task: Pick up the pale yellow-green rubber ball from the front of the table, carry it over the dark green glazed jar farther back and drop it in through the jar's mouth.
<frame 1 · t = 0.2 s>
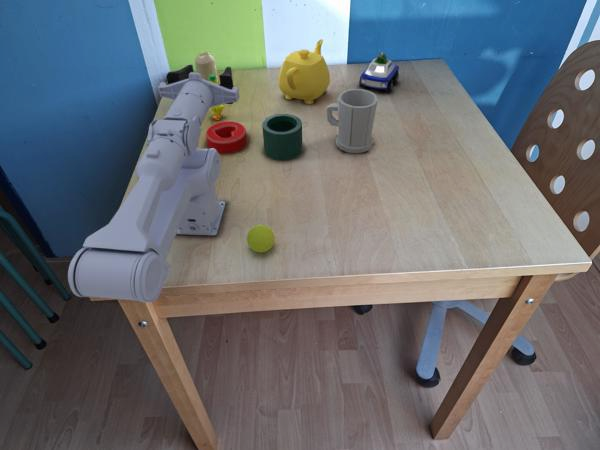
hand: (210, 70, 83), 21 cm above the table, tool horizontal, fingers open, 7 cm apart
toy figure: (217, 118, 112), on the table
jar: (283, 149, 101), on the table
teapot: (305, 94, 121), on the table
ball: (260, 238, 76), point 2 cm above the table
candle: (209, 88, 124), on the table
cup: (350, 144, 102), on the table
decorative ornament: (227, 142, 104), on the table
toy car: (378, 85, 124), on the table
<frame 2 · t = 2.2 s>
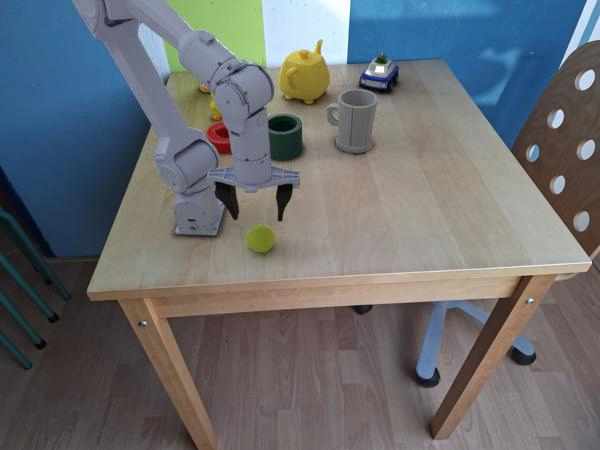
hand: (258, 216, 73), 8 cm above the table, tool pointing down, fingers open, 7 cm apart
nothing on the table moved.
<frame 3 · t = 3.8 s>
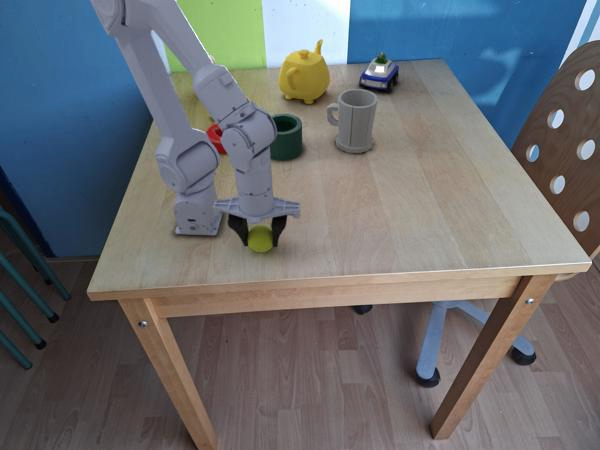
hand: (261, 242, 77), 1 cm above the table, tool pointing down, fingers closed on ball, 5 cm apart
ball: (260, 238, 76), point 2 cm above the table, touching gripper
everything else where it was.
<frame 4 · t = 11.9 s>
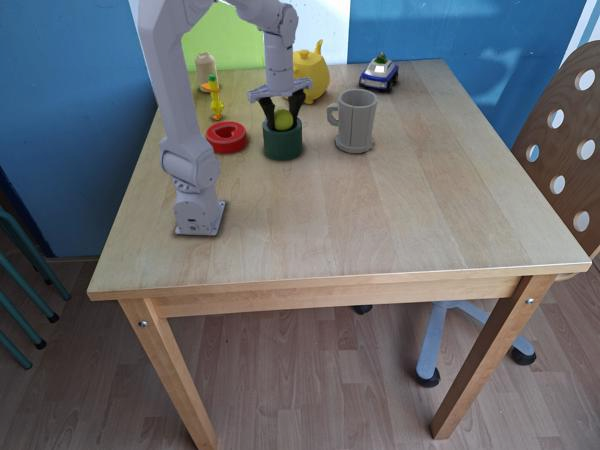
hand: (282, 124, 96), 7 cm above the table, tool pointing down, fingers closed on ball, 5 cm apart
ball: (282, 120, 95), point 8 cm above the table, touching gripper
everything else where it was.
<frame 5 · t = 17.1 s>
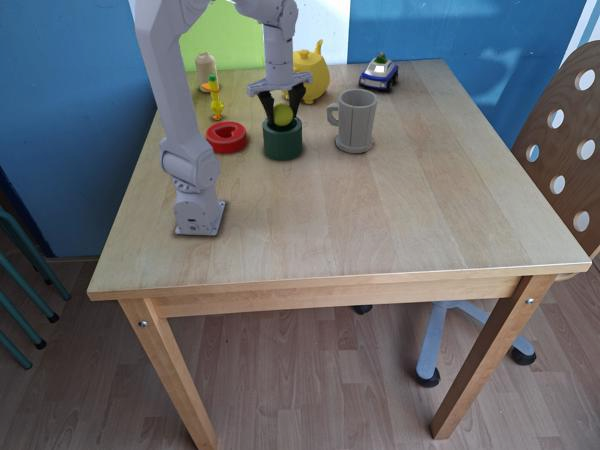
hand: (281, 118, 95), 8 cm above the table, tool pointing down, fingers closed on ball, 5 cm apart
ball: (281, 114, 94), point 9 cm above the table, touching gripper
everything else where it was.
when the fingers open (8 cm above the table, at t = 21.7 s): ball drops 6 cm, resting on jar.
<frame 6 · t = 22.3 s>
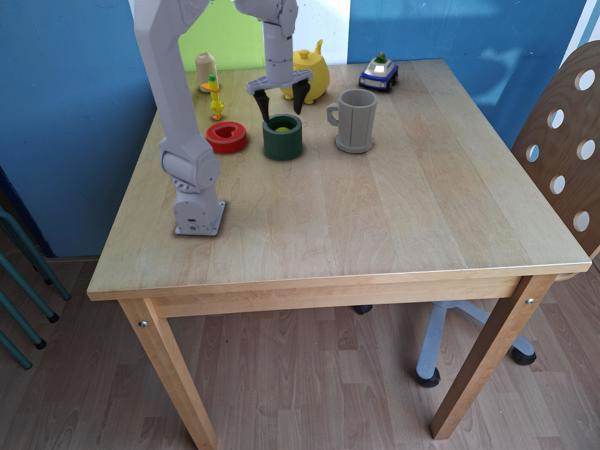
hand: (281, 116, 95), 9 cm above the table, tool pointing down, fingers open, 7 cm apart
jar: (283, 149, 101), on the table, touching ball
ball: (283, 138, 99), point 3 cm above the table, touching jar
everything else where it was.
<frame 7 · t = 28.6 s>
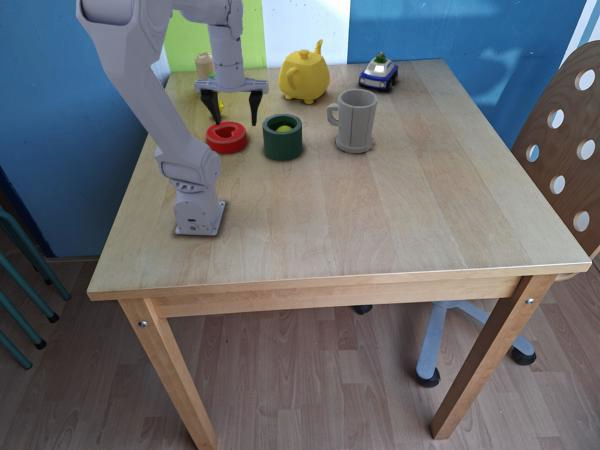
hand: (236, 123, 90), 10 cm above the table, tool pointing down, fingers open, 7 cm apart
ball: (285, 136, 99), point 3 cm above the table, tilted 19°, touching jar
everything else where it was.
at the end: ball 0.9 cm off-centre in the jar, point 3.1 cm above the jar's base; the gripper is holding nothing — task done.
